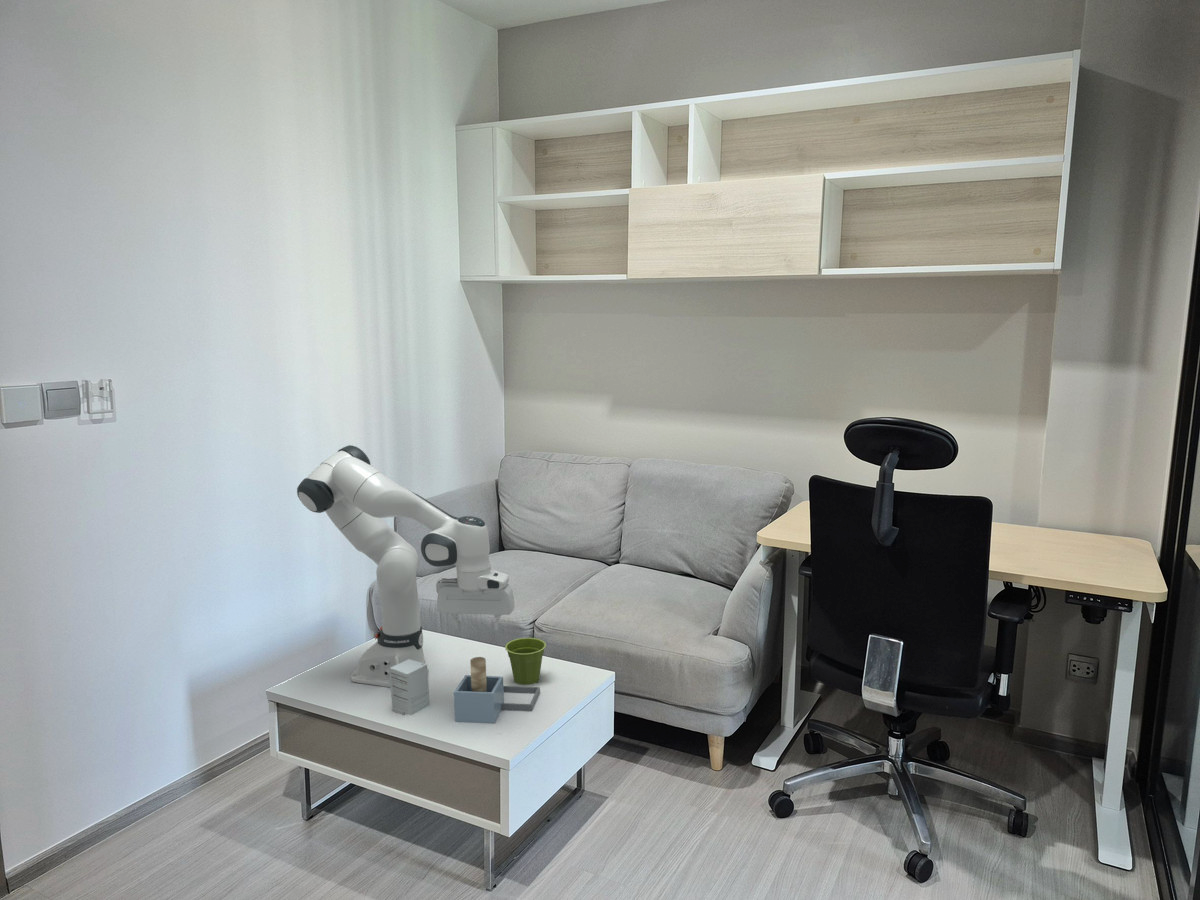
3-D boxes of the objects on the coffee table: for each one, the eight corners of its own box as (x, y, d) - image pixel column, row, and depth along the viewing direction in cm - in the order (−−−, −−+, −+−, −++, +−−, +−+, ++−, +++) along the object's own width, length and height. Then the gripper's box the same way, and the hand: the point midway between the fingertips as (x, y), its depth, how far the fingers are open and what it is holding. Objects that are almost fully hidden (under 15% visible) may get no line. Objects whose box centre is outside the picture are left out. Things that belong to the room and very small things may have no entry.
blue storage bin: (455, 724, 220) (453, 692, 218) (466, 706, 230) (465, 675, 229) (494, 726, 218) (493, 693, 217) (504, 707, 229) (503, 676, 227)
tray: (491, 712, 226) (490, 703, 226) (501, 693, 237) (500, 685, 237) (531, 713, 225) (531, 705, 224) (540, 695, 236) (539, 687, 235)
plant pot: (498, 686, 242) (497, 649, 240) (521, 670, 253) (519, 635, 251) (533, 694, 237) (531, 656, 235) (554, 677, 247) (553, 641, 245)
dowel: (470, 716, 222) (468, 662, 220) (474, 709, 226) (472, 656, 224) (485, 716, 222) (483, 663, 219) (489, 710, 226) (487, 657, 223)
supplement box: (411, 701, 234) (409, 658, 232) (430, 707, 230) (428, 664, 228) (391, 711, 228) (388, 667, 226) (410, 718, 224) (407, 673, 222)
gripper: (431, 581, 216) (434, 632, 219) (509, 582, 214) (511, 634, 216) (439, 574, 223) (442, 624, 225) (514, 575, 220) (517, 625, 222)
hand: (476, 629), depth 220 cm, fingers open, 8 cm apart
